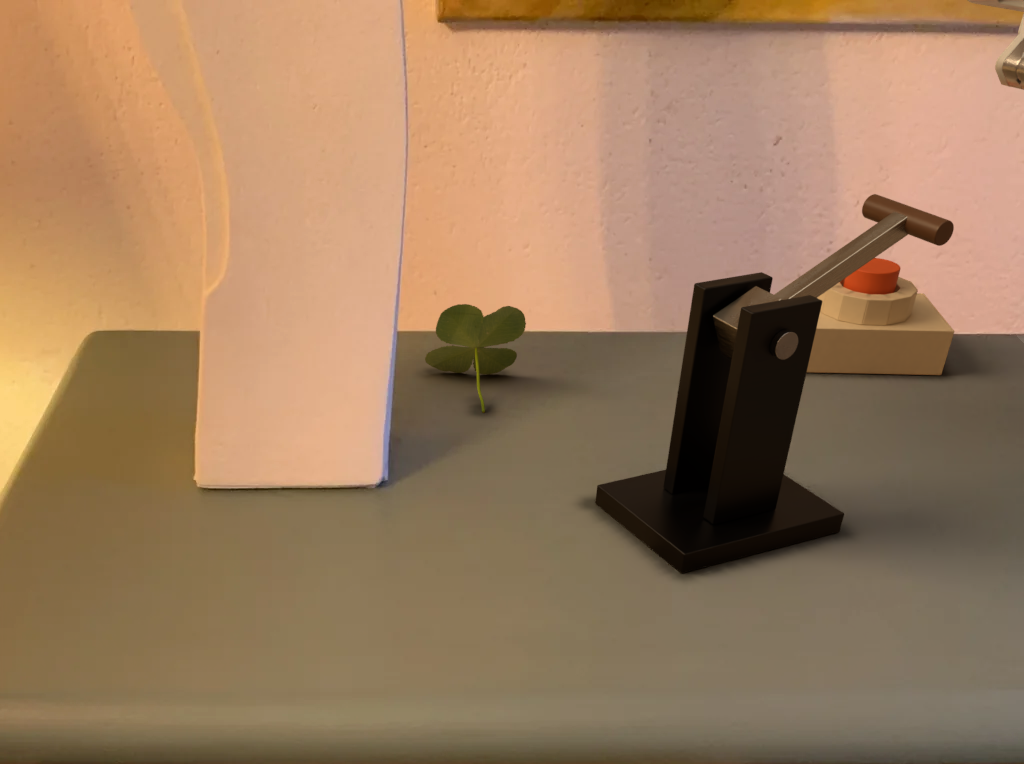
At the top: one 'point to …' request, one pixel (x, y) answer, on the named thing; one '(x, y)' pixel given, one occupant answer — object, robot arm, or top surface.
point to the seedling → (476, 340)
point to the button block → (879, 333)
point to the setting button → (874, 277)
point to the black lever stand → (730, 439)
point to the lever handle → (842, 259)
